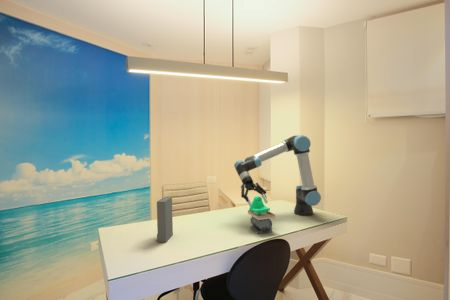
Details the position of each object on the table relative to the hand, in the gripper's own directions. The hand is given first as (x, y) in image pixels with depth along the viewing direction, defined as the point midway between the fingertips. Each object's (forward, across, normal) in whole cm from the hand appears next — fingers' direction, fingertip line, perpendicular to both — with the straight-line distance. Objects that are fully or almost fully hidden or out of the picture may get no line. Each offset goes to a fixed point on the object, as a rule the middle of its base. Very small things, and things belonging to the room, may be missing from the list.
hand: (259, 203), depth 186 cm
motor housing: (+14, 0, -11) cm, 18 cm away
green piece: (+4, 0, -3) cm, 6 cm away
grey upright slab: (0, +60, -26) cm, 65 cm away
